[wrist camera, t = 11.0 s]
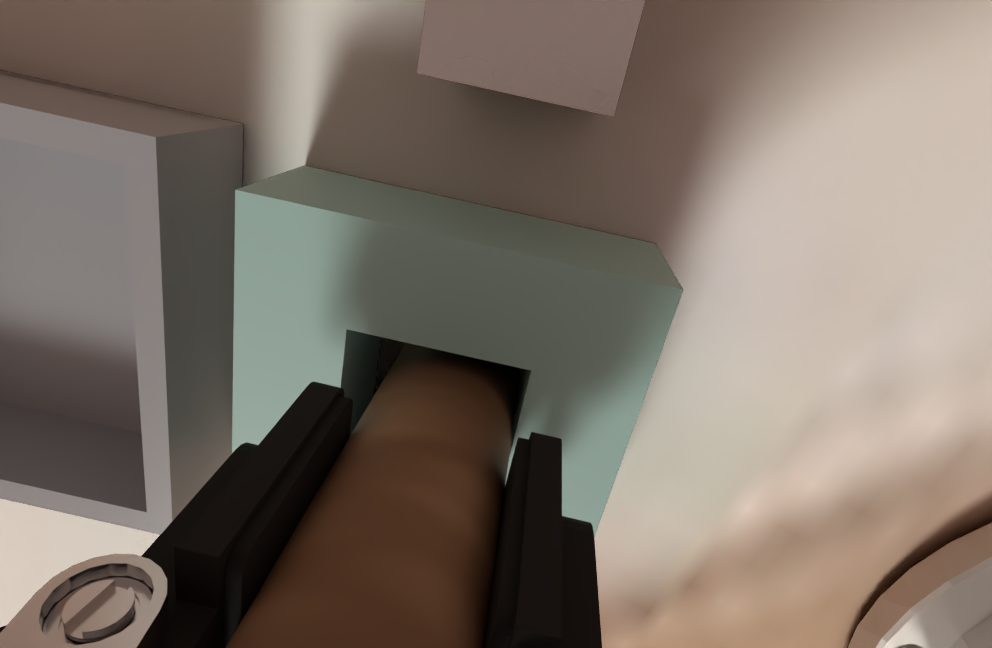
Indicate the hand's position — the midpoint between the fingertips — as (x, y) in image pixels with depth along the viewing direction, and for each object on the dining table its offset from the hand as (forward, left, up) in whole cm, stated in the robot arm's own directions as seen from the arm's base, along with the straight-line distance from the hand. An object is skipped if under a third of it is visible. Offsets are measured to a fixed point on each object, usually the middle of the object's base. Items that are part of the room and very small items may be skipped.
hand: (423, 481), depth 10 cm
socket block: (0, 0, -5) cm, 5 cm away
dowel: (0, 0, -4) cm, 4 cm away
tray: (+10, 0, -5) cm, 11 cm away
